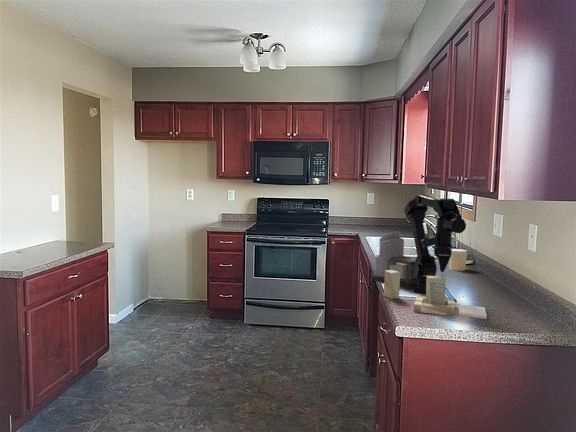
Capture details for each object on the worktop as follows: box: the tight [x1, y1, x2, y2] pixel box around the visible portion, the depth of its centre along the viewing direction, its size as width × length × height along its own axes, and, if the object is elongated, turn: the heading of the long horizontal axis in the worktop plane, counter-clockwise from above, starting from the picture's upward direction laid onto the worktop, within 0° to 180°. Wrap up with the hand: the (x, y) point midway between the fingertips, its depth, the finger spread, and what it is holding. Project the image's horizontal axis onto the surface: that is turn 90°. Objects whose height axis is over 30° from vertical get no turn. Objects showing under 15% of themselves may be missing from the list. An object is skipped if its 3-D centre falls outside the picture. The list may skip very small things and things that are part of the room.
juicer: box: [371, 231, 416, 290], centre depth 209 cm, size 30×16×24 cm, turn 26°
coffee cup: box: [448, 248, 468, 272], centre depth 239 cm, size 9×9×12 cm
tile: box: [458, 304, 488, 320], centre depth 163 cm, size 12×9×1 cm
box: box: [383, 270, 401, 299], centre depth 182 cm, size 5×4×11 cm
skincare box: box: [425, 275, 446, 306], centre depth 167 cm, size 6×4×12 cm
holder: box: [413, 295, 456, 317], centre depth 167 cm, size 14×14×2 cm
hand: (442, 269), depth 176 cm, fingers open, 9 cm apart
